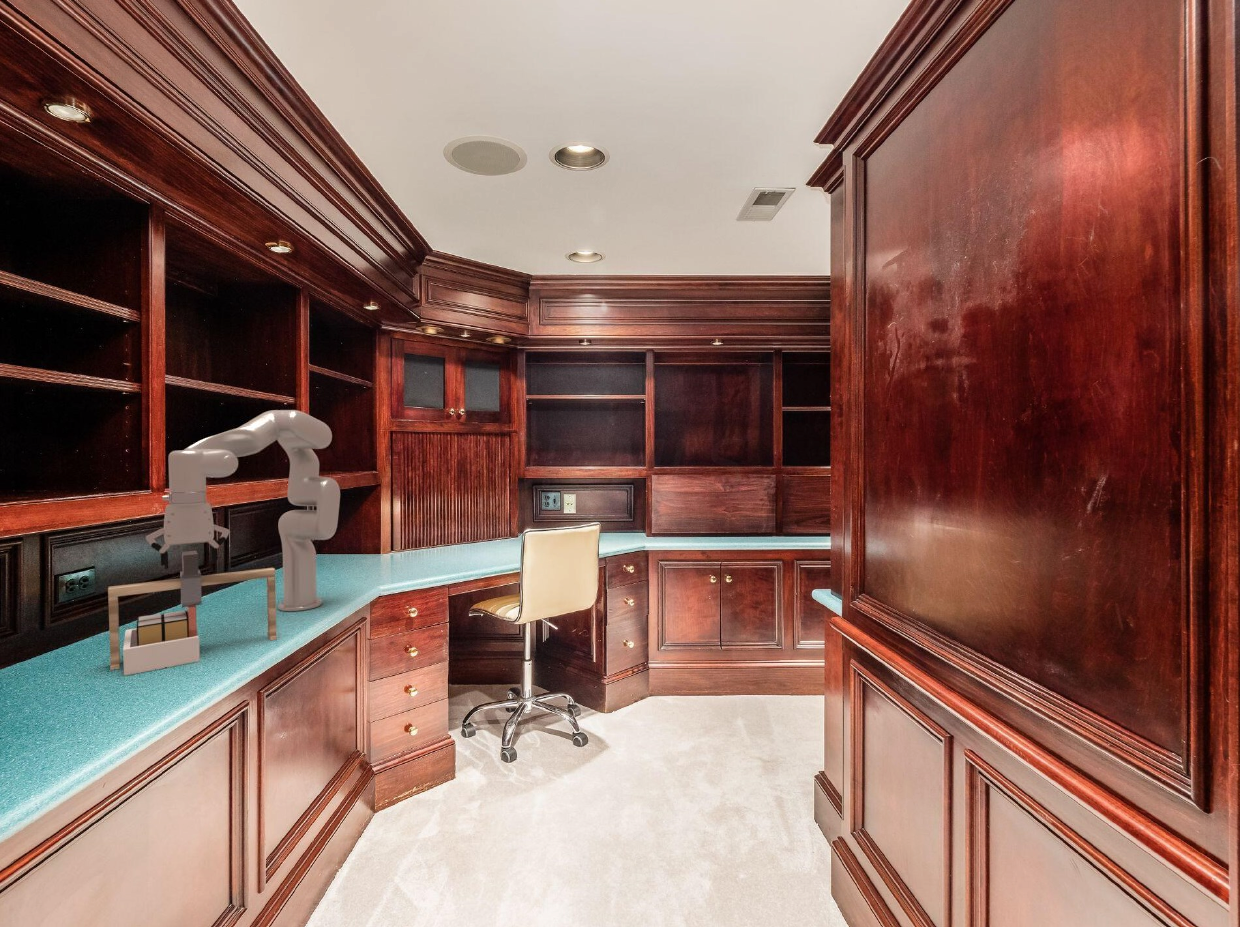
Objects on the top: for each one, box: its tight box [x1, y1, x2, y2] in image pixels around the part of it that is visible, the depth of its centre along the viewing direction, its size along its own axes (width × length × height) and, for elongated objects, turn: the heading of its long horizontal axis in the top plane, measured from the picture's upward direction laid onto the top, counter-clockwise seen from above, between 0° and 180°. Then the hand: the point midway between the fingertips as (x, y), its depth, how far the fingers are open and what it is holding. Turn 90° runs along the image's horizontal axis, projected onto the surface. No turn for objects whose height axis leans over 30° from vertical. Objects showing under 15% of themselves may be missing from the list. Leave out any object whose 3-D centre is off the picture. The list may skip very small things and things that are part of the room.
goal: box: [122, 627, 201, 677], centre depth 146 cm, size 18×14×6 cm
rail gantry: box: [107, 567, 278, 671], centre depth 151 cm, size 6×34×19 cm, turn 129°
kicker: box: [179, 550, 203, 637], centre depth 150 cm, size 9×4×24 cm, turn 39°
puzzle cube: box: [136, 609, 189, 646], centre depth 146 cm, size 10×10×10 cm
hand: (190, 565), depth 149 cm, fingers open, 9 cm apart
